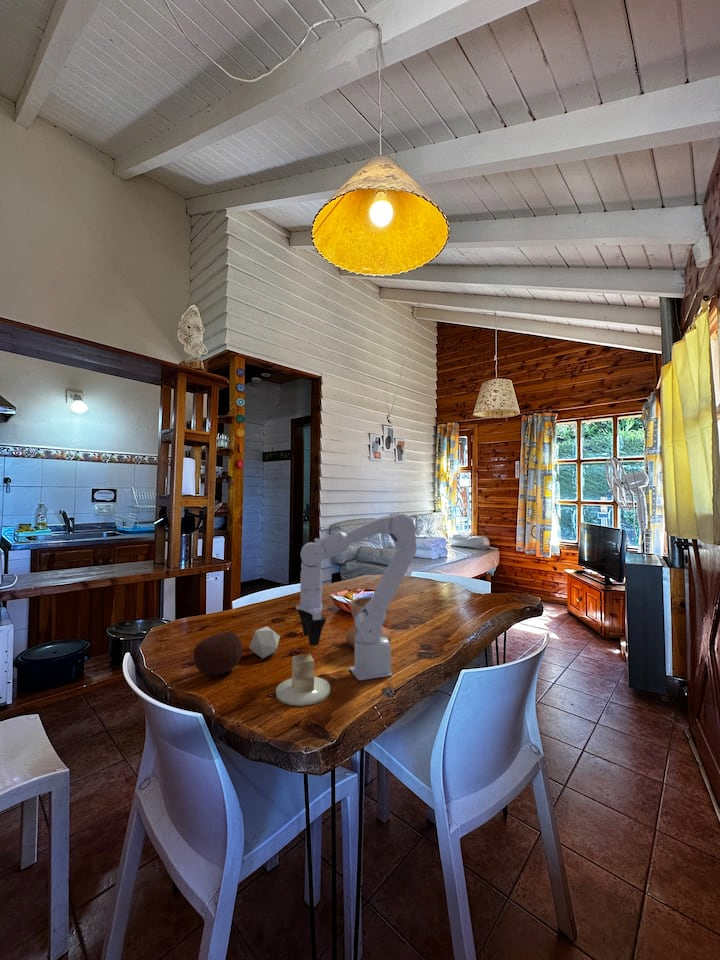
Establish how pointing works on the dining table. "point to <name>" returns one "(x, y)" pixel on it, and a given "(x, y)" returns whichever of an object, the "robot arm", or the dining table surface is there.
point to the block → (302, 673)
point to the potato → (218, 653)
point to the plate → (305, 698)
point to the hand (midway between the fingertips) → (310, 640)
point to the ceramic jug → (355, 607)
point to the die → (264, 642)
